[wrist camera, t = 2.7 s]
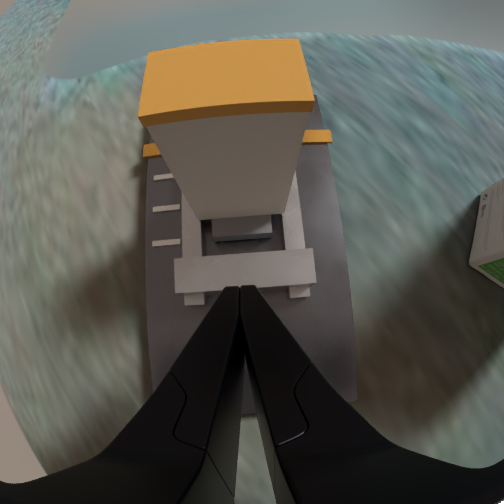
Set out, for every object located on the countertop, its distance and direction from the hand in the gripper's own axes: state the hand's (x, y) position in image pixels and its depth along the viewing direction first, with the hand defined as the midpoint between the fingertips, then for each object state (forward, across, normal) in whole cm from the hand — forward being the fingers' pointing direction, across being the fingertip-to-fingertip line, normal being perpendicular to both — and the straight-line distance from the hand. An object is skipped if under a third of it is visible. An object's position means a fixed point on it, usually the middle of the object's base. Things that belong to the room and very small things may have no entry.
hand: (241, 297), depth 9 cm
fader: (+9, 0, +1) cm, 9 cm away
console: (+9, 0, +4) cm, 10 cm away
